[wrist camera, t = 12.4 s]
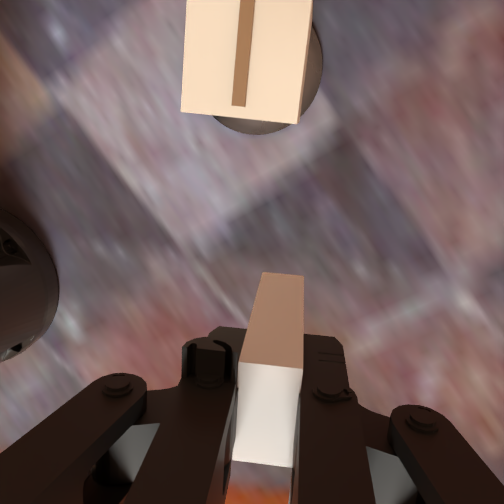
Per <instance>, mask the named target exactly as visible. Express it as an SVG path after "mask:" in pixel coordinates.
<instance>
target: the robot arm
mask: <svg viewBox="0 0 504 504" xmlns="http://www.w3.org/2000/svg"><path fill="white" fill-rule="evenodd" d="M57 305H58V281H57V276H56V272H55V268H54V266H53V263H52V261H51V258H50V256H49V254H48V252H47V250H46V249H45V247H44V246H43V244H42V243H41V241H40V240H39V239H38V237H37V236H36V235H35V234H34V233H33V232H32V231H31V230H30V229H29V228H28V227H27V226H26V225H25V224H24V223H23V222H21V221H20V220H19V219H17V218H16V217H14V216H13V215H11V214H10V213H8V212H6V211H4V210H2V209H0V362H2V361H5V360H8V359H11V358H13V357H15V356H17V355H18V354H20V353H22V352H23V351H25V350H26V349H27V348H28V347H30V346H31V345H32V344H33V343H35V342H36V341H37V340H38V339H39V338H40V337H41V336H42V335H43V334H44V333H45V332H46V331H47V329H48V328H49V326H50V325H51V323H52V321H53V319H54V316H55V313H56V309H57ZM303 327H304V276H299V275H288V274H278V273H267V272H262V276H261V280H260V283H259V287H258V291H257V295H256V298H255V302H254V306H253V309H252V313H251V317H250V321H249V324H248V328H247V329H241V328H232V327H222V326H219V327H217V328H216V329H214V330H213V331H212V332H210V333H209V335H208V337H202V338H196V339H193V340H190V341H188V342H186V343H185V344H184V345H183V346H182V378H181V380H180V382H179V384H178V386H176V387H172V388H169V389H162V390H151V391H147V385H146V382H145V381H144V380H143V379H142V378H141V377H139V376H136V375H134V374H127V373H114V374H110V375H107V376H103V377H101V378H99V379H97V380H95V381H93V382H92V383H91V384H90V385H88V386H87V387H86V388H84V389H83V390H82V391H81V392H79V393H78V394H77V395H75V396H74V397H73V398H71V399H70V400H69V401H68V402H66V403H65V404H64V405H62V406H61V407H60V408H59V409H57V410H56V411H55V412H53V413H52V414H51V415H50V416H48V417H47V418H46V419H44V420H43V421H42V422H40V423H39V424H38V425H37V426H35V427H34V428H33V429H31V430H30V431H29V432H28V433H26V434H25V435H24V436H22V437H21V438H20V439H19V440H17V441H16V442H15V443H13V444H12V445H11V446H9V447H8V448H7V449H6V450H4V451H3V452H2V453H0V504H225V499H226V494H227V489H228V484H229V479H230V471H231V457H232V452H233V457H232V460H236V461H244V462H252V463H260V464H268V465H275V466H283V467H291V468H292V476H291V485H290V495H289V504H504V485H503V484H502V483H501V482H500V481H499V479H498V478H497V477H496V476H495V475H494V474H493V472H492V471H491V470H490V469H489V468H488V466H487V465H486V464H485V463H484V462H483V460H482V459H481V458H480V457H479V456H478V454H477V453H476V452H475V451H474V450H473V448H472V447H471V446H470V445H469V444H468V442H467V441H466V440H465V439H464V438H463V436H462V435H461V434H460V433H459V432H458V430H457V429H456V428H455V427H454V426H453V424H452V423H451V422H450V421H449V420H448V419H447V418H445V417H444V416H443V415H442V414H440V413H438V412H436V411H434V410H432V409H430V408H428V407H424V406H420V405H409V404H408V405H402V406H398V407H397V408H395V409H393V410H392V413H391V416H390V417H387V416H384V415H381V414H377V413H375V412H372V411H370V410H368V409H366V408H364V407H362V406H361V405H360V404H358V400H357V396H356V394H355V392H354V391H353V390H352V389H351V388H349V382H348V375H347V369H346V364H345V357H344V351H343V346H342V344H341V343H340V342H339V341H338V340H337V339H336V338H335V337H329V336H320V335H310V334H303Z"/></svg>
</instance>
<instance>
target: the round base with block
mask: <svg viewBox="0 0 504 504" xmlns="http://www.w3.org/2000/svg"><path fill="white" fill-rule="evenodd" d="M321 75H322V53H321V48H320V44H319V41H318V38H317V35H316V33H315V31H314V29H313V27H312V26H311V33H310V41H309V49H308V57H307V65H306V73H305V81H304V89H303V97H302V105H301V113H300V117H301V116H302V115H303V114H304V112H305V111H306V110H307V109H308V108H309V106H310V104H311V103H312V101H313V100H314V97H315V95H316V93H317V91H318V88H319V84H320V80H321ZM212 116H213V117H214V118H215V119H217V120H218V121H219V122H220V123H222V124H223V125H225V126H226V127H228V128H230V129H232V130H234V131H238V132H241V133H245V134H253V135H261V134H268V133H273V132H276V131H279V130H281V129H283V128H285V127H287V126H289V125H291V124H290V123H281V122H272V121H262V120H253V119H244V118H234V117H225V116H216V115H212Z"/></svg>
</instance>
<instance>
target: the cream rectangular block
mask: <svg viewBox="0 0 504 504" xmlns="http://www.w3.org/2000/svg"><path fill="white" fill-rule="evenodd" d="M312 9H313V0H187V9H186V27H185V45H184V63H183V81H182V99H181V112H188V113H197V114H206V115H216V116H225V117H234V118H244V119H253V120H262V121H272V122H281V123H290V124H298V123H299V121H300V113H301V105H302V97H303V89H304V81H305V73H306V65H307V57H308V49H309V41H310V33H311V25H312Z"/></svg>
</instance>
